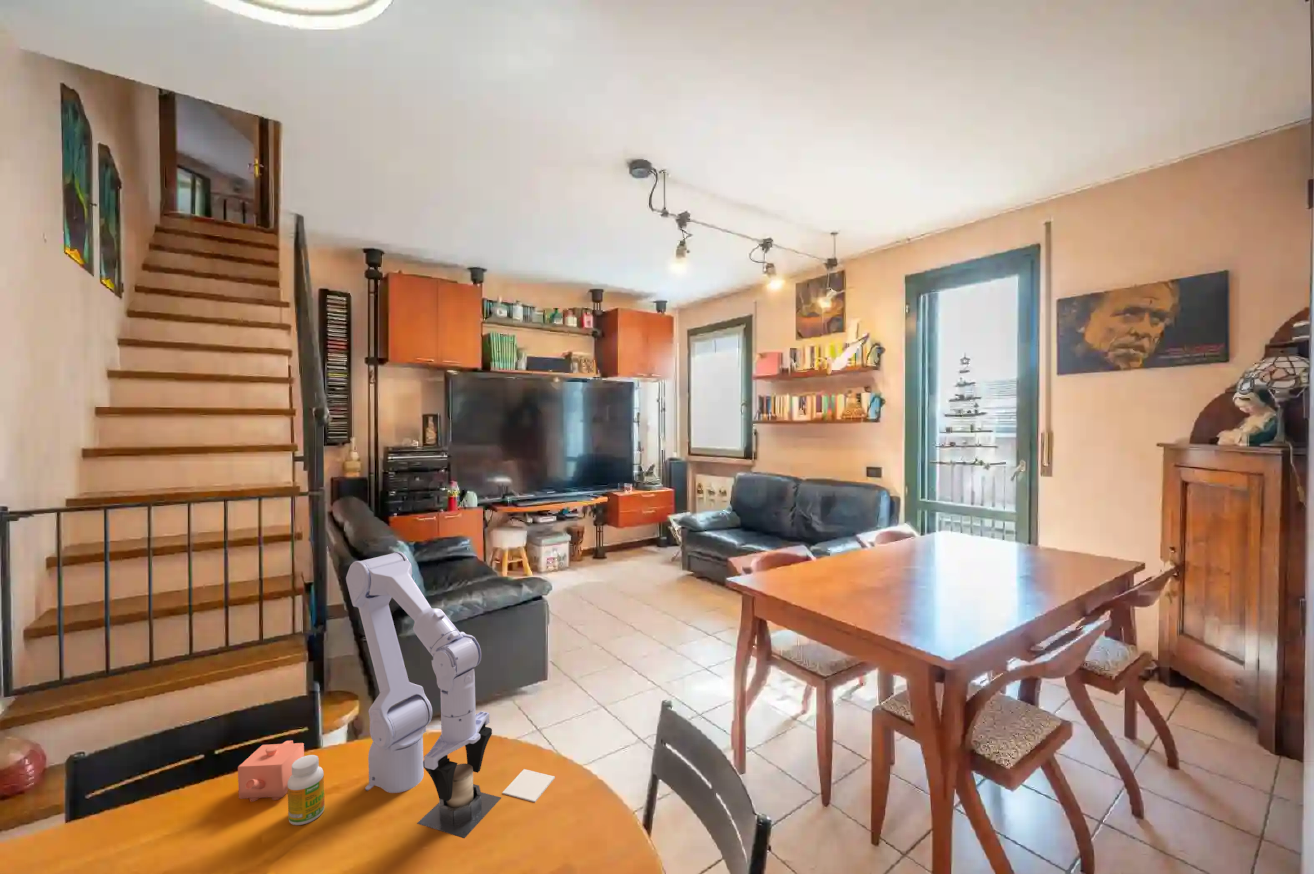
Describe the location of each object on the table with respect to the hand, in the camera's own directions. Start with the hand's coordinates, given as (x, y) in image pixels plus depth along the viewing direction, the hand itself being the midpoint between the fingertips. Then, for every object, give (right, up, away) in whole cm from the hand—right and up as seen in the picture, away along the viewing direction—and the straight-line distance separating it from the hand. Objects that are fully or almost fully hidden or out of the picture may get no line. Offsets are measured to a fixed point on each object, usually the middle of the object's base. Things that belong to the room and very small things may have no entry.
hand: (460, 783), depth 95 cm
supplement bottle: (-28, -6, 0) cm, 28 cm away
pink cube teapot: (-38, -6, +6) cm, 39 cm away
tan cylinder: (0, -5, 0) cm, 5 cm away
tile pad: (+11, -5, +6) cm, 14 cm away
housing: (0, -6, 0) cm, 6 cm away
